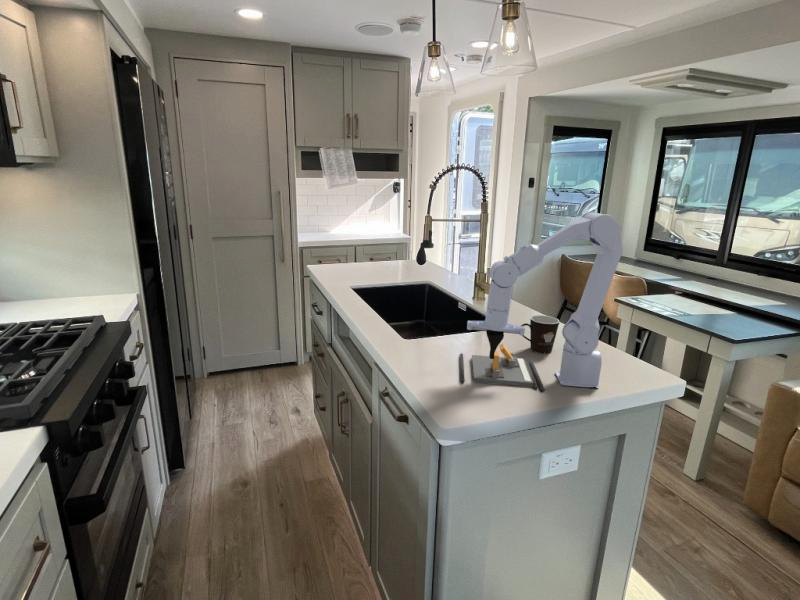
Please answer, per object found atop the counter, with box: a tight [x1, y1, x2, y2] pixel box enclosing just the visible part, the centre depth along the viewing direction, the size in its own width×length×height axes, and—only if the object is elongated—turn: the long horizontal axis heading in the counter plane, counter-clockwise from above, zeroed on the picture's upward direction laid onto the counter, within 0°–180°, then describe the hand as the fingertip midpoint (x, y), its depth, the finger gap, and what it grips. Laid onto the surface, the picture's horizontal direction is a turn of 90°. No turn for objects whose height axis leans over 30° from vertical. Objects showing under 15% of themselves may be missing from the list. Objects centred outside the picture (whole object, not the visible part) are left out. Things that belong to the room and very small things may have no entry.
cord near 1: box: [528, 359, 546, 392], centre depth 124 cm, size 1×19×1 cm, turn 173°
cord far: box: [459, 352, 466, 384], centre depth 127 cm, size 1×19×1 cm, turn 174°
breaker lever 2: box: [498, 342, 514, 361], centre depth 129 cm, size 1×4×5 cm
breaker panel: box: [471, 352, 534, 388], centre depth 126 cm, size 15×16×3 cm
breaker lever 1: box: [492, 350, 500, 370], centre depth 122 cm, size 1×4×5 cm, turn 174°
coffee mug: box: [520, 314, 560, 355], centre depth 143 cm, size 12×9×10 cm
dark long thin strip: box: [525, 360, 539, 390], centre depth 124 cm, size 1×17×1 cm, turn 173°
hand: (491, 357), depth 121 cm, fingers closed, pressing on breaker lever 1
